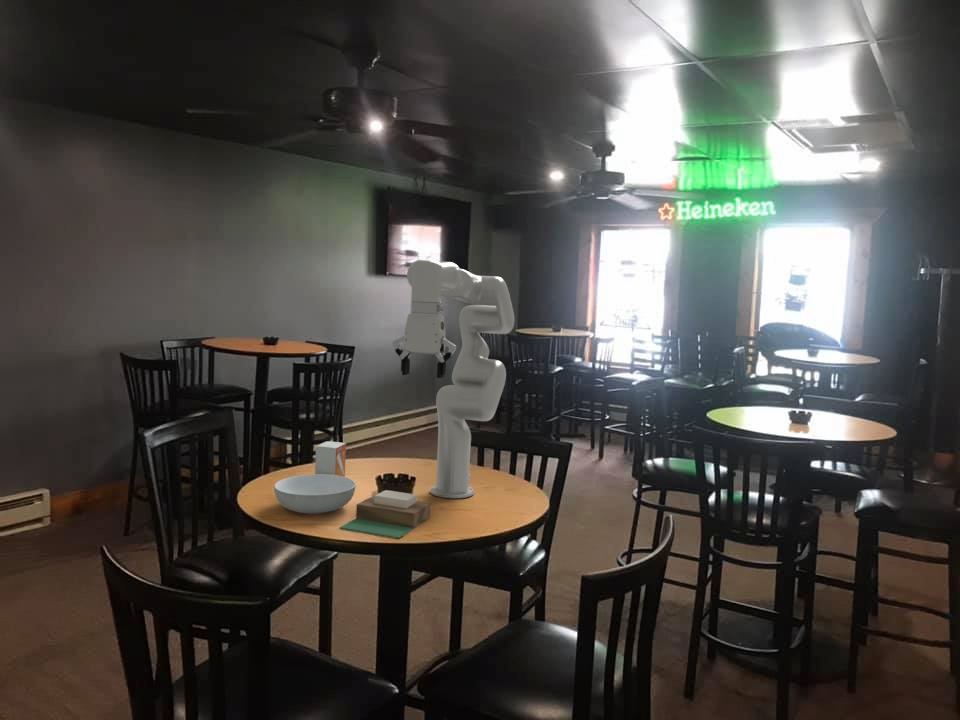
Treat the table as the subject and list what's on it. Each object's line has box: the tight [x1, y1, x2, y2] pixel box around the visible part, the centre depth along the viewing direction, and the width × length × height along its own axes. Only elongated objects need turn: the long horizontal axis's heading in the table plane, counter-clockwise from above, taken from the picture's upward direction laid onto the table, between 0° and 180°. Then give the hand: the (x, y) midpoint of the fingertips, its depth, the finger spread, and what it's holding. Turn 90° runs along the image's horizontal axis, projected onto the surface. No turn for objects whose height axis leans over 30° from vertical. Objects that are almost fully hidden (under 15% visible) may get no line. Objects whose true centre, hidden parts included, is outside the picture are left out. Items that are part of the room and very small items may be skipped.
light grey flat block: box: [374, 489, 418, 508], centre depth 190 cm, size 6×9×2 cm, turn 70°
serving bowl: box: [273, 473, 357, 515], centre depth 195 cm, size 21×21×7 cm
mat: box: [339, 518, 414, 539], centre depth 181 cm, size 8×16×1 cm, turn 70°
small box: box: [314, 440, 347, 477], centre depth 215 cm, size 8×6×13 cm
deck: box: [355, 494, 431, 530], centre depth 190 cm, size 10×16×4 cm, turn 70°
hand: (422, 376), depth 191 cm, fingers open, 9 cm apart
